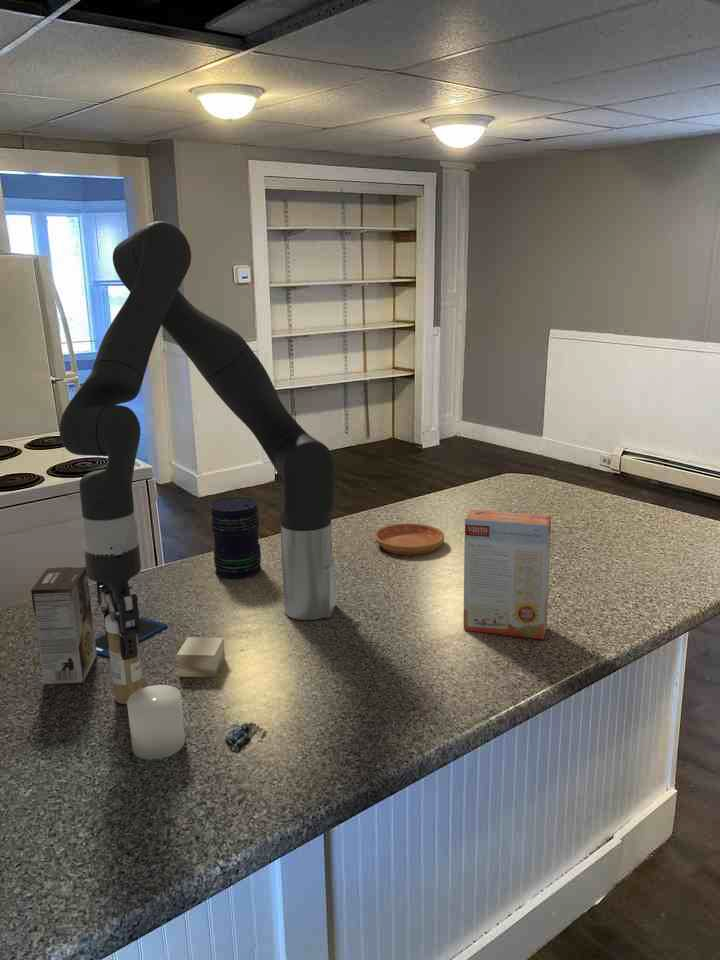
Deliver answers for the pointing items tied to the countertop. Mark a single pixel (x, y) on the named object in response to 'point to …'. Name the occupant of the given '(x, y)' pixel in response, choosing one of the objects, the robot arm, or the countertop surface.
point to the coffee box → (64, 625)
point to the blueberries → (241, 735)
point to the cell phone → (147, 631)
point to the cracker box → (506, 573)
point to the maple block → (200, 657)
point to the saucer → (409, 538)
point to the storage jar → (236, 538)
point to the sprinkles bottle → (123, 665)
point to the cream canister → (156, 722)
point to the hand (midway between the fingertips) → (121, 646)
